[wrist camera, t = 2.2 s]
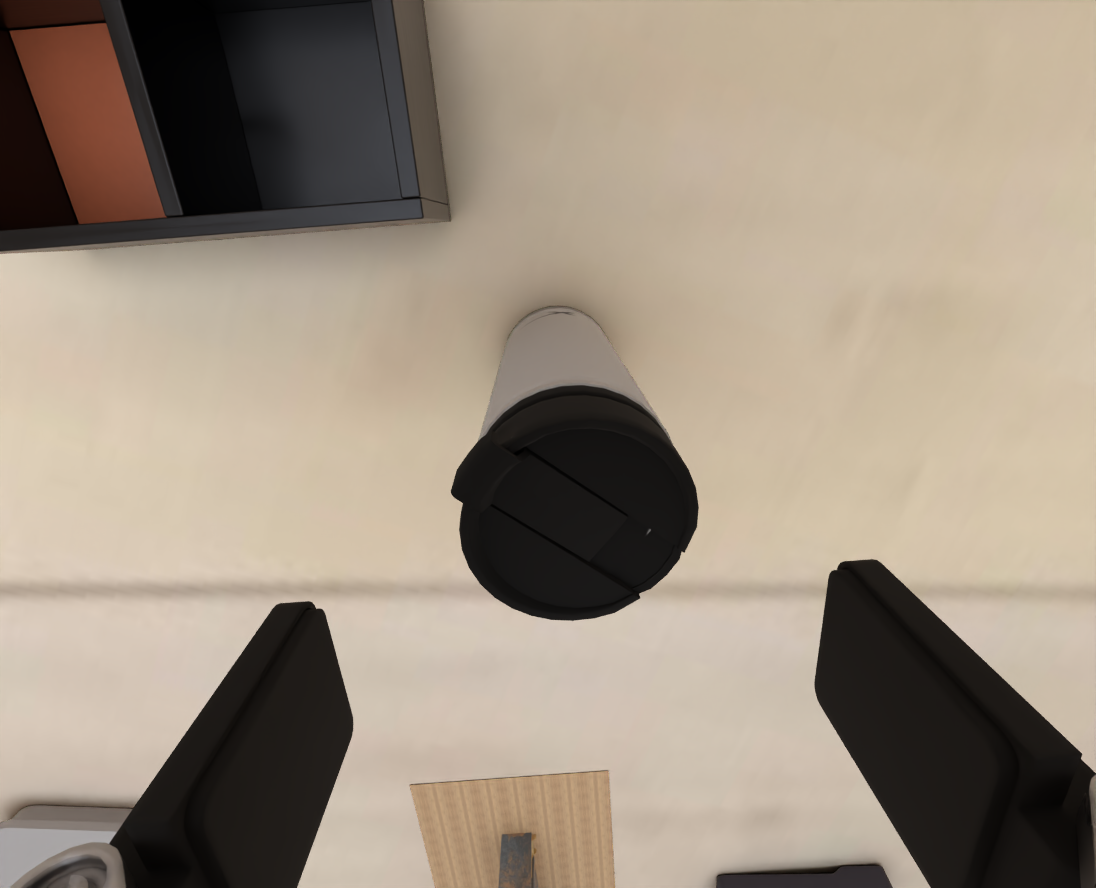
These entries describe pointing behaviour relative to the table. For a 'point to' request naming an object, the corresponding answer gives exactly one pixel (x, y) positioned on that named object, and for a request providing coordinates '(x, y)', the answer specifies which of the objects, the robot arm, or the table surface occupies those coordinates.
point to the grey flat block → (51, 835)
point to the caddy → (213, 120)
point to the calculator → (812, 879)
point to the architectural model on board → (518, 831)
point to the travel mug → (571, 478)
